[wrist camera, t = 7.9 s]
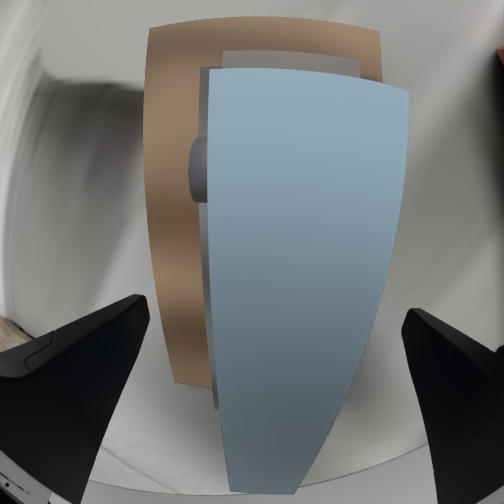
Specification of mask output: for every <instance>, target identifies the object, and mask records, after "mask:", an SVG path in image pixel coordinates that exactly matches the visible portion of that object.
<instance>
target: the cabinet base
mask: <svg viewBox="0 0 504 504" xmlns="http://www.w3.org/2000/svg"><path fill="white" fill-rule="evenodd" d="M225 68H273V69H291V70H304V71H314V72H322V73H330V74H337V75H344V76H350V77H355V78H361V79H366V80H371V81H375V82H380V83H382V67H381V48H380V35H379V31H375V30H371V29H366V28H362V27H357V26H352V25H347V24H341V23H335V22H328V21H321V20H312V19H302V18H289V17H228V18H215V19H204V20H195V21H188V22H181V23H176V24H169V25H164V26H159V27H154V28H150V29H149V37H148V47H147V57H146V69H145V85H144V114H143V148H144V178H145V196H146V209H147V221H148V231H149V241H150V250H151V258H152V265H153V273H154V280H155V286H156V293H157V299H158V305H159V310H160V316H161V321H162V326H163V331H164V336H165V341H166V346H167V350H168V355H169V359H170V364H171V368H172V372H173V376H174V380H175V383H181V384H187V385H194V386H201V387H208V388H212V389H213V397H214V405H215V409H217V410H219V400H218V389H217V379H216V367H215V355H214V342H213V327H212V311H211V293H210V272H209V246H208V203H196V202H194V201H193V199H192V196H191V193H190V188H189V180H188V164H189V156H190V150H191V147H192V144H193V142H194V140H195V139H196V138H197V137H208V98H209V73H210V69H225Z"/></svg>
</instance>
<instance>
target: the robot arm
mask: <svg viewBox="0 0 504 504" xmlns="http://www.w3.org/2000/svg"><path fill="white" fill-rule="evenodd" d="M149 321H150V314H149V309H148V304H147V299H146V297H145V296H144V295H139V294H133V295H131V296H128V297H126V298H124V299H122V300H119V301H117V302H115V303H113V304H111V305H108V306H106V307H104V308H102V309H100V310H97V311H95V312H93V313H91V314H89V315H86V316H84V317H82V318H80V319H78V320H75V321H73V322H71V323H69V324H67V325H65V326H62V327H60V328H58V329H56V330H55V331H51V332H49V333H47V334H45V335H43V336H40V337H38V338H36V339H33V340H31V341H28V342H26V343H23V344H21V345H18V346H16V347H13V348H10V349H8V350H5V351H2V352H0V504H51V503H50V502H49V499H50V496H51V494H52V493H54V494H56V495H58V496H59V497H61V498H63V499H64V500H66V501H68V502H70V503H71V504H80V503H81V500H82V497H83V494H84V491H85V488H86V485H87V482H88V479H89V476H90V473H91V470H92V468H93V465H94V462H95V459H96V456H97V453H98V451H99V448H100V445H101V443H102V440H103V437H104V435H105V432H106V430H107V427H108V425H109V422H110V420H111V417H112V415H113V412H114V410H115V407H116V405H117V403H118V400H119V398H120V396H121V393H122V391H123V389H124V386H125V384H126V382H127V379H128V377H129V375H130V373H131V370H132V368H133V366H134V364H135V361H136V359H137V357H138V354H139V351H140V348H141V345H142V342H143V339H144V336H145V333H146V330H147V327H148V324H149ZM401 334H402V339H403V343H404V348H405V352H406V357H407V362H408V366H409V370H410V374H411V377H412V380H413V384H414V387H415V391H416V394H417V398H418V402H419V405H420V409H421V413H422V417H423V421H424V425H425V430H426V434H427V439H428V443H429V448H430V453H431V459H432V464H433V470H434V478H435V485H436V492H437V501H438V504H478V503H481V504H504V346H502V347H501V348H500V349H499V350H498V352H497V353H495V352H493V351H492V350H491V351H490V349H488V348H487V347H485V346H483V345H482V344H480V343H479V342H477V341H475V340H474V339H472V338H470V337H469V336H467V335H465V334H463V333H462V332H460V331H458V330H457V329H455V328H453V327H452V326H450V325H448V324H446V323H445V322H443V321H441V320H440V319H438V318H436V317H434V316H433V315H431V314H429V313H427V312H426V311H424V310H422V309H420V308H411V309H409V310H408V312H407V314H406V317H405V320H404V323H403V326H402V329H401Z"/></svg>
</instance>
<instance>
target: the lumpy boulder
mask: <svg viewBox="0 0 504 504" xmlns="http://www.w3.org/2000/svg"><path fill="white" fill-rule="evenodd" d="M31 340H33V339H32V338H30V337H29V336H28V335H26V334H25V333H24V332H22V331H21V330H20V329H19V327H17V326H16V325H14V324H13V323H11V322H10V321H8V320H6V319H3V318H1V317H0V352H2V351H5V350H8V349H10V348H13V347H16V346H18V345H21V344H23V343H26V342H28V341H31Z"/></svg>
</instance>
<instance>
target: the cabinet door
mask: <svg viewBox="0 0 504 504" xmlns="http://www.w3.org/2000/svg"><path fill="white" fill-rule="evenodd" d="M408 129H409V90H408V89H404V88H400V87H396V86H393V85H388V84H384V83H380V82H375V81H371V80H366V79H361V78H355V77H350V76H344V75H337V74H330V73H322V72H314V71H304V70H291V69H273V68H225V69H210V73H209V98H208V137H197V138H196V139H195V140H194V142H193V144H192V147H191V150H190V156H189V164H188V180H189V188H190V193H191V196H192V199H193V201H194V202H196V203H208V246H209V272H210V293H211V311H212V327H213V342H214V355H215V367H216V379H217V389H218V400H219V410H220V419H221V428H222V436H223V444H224V452H225V460H226V467H227V475H228V481H229V488H230V491H231V492H241V493H255V494H294V493H295V492H296V490H297V489H298V487H299V485H300V484H301V482H302V481H303V479H304V477H305V476H306V474H307V472H308V471H309V469H310V467H311V465H312V464H313V462H314V460H315V458H316V457H317V455H318V453H319V451H320V449H321V447H322V446H323V444H324V442H325V440H326V438H327V436H328V434H329V432H330V430H331V428H332V426H333V424H334V422H335V420H336V418H337V415H338V413H339V411H340V409H341V407H342V405H343V402H344V400H345V398H346V395H347V393H348V391H349V388H350V386H351V384H352V381H353V379H354V376H355V374H356V371H357V369H358V366H359V363H360V361H361V358H362V355H363V352H364V350H365V347H366V344H367V341H368V338H369V335H370V332H371V329H372V326H373V323H374V320H375V316H376V313H377V310H378V306H379V303H380V299H381V296H382V292H383V289H384V285H385V281H386V277H387V273H388V269H389V265H390V260H391V256H392V251H393V246H394V242H395V236H396V231H397V226H398V220H399V214H400V208H401V201H402V194H403V187H404V179H405V170H406V159H407V147H408Z"/></svg>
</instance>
